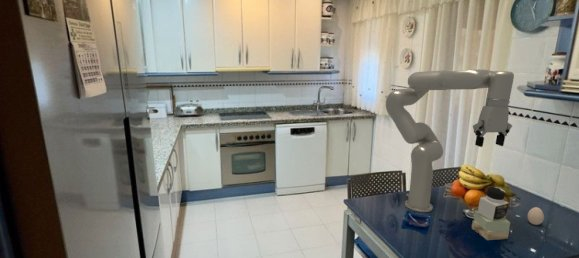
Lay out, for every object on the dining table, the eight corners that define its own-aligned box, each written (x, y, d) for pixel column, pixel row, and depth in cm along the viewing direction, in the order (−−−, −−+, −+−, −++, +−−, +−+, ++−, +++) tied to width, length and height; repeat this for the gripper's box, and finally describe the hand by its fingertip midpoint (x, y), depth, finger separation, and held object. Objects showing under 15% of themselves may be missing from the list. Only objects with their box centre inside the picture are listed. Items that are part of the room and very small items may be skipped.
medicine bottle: (492, 221, 123) (498, 194, 119) (476, 212, 129) (482, 186, 126) (505, 218, 125) (511, 191, 122) (489, 209, 131) (494, 183, 128)
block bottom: (471, 229, 132) (472, 220, 131) (490, 227, 134) (491, 219, 133) (487, 240, 124) (488, 231, 123) (507, 239, 125) (509, 230, 124)
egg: (537, 228, 132) (541, 211, 131) (523, 222, 137) (526, 206, 136) (544, 225, 135) (548, 209, 133) (530, 220, 140) (533, 203, 138)
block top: (473, 219, 132) (475, 210, 132) (496, 220, 132) (497, 211, 131) (485, 230, 124) (486, 221, 123) (508, 231, 123) (510, 222, 122)
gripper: (507, 101, 126) (499, 142, 130) (470, 102, 122) (463, 143, 126) (524, 104, 119) (515, 147, 123) (485, 105, 115) (478, 149, 119)
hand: (489, 145), depth 124 cm, fingers open, 9 cm apart
